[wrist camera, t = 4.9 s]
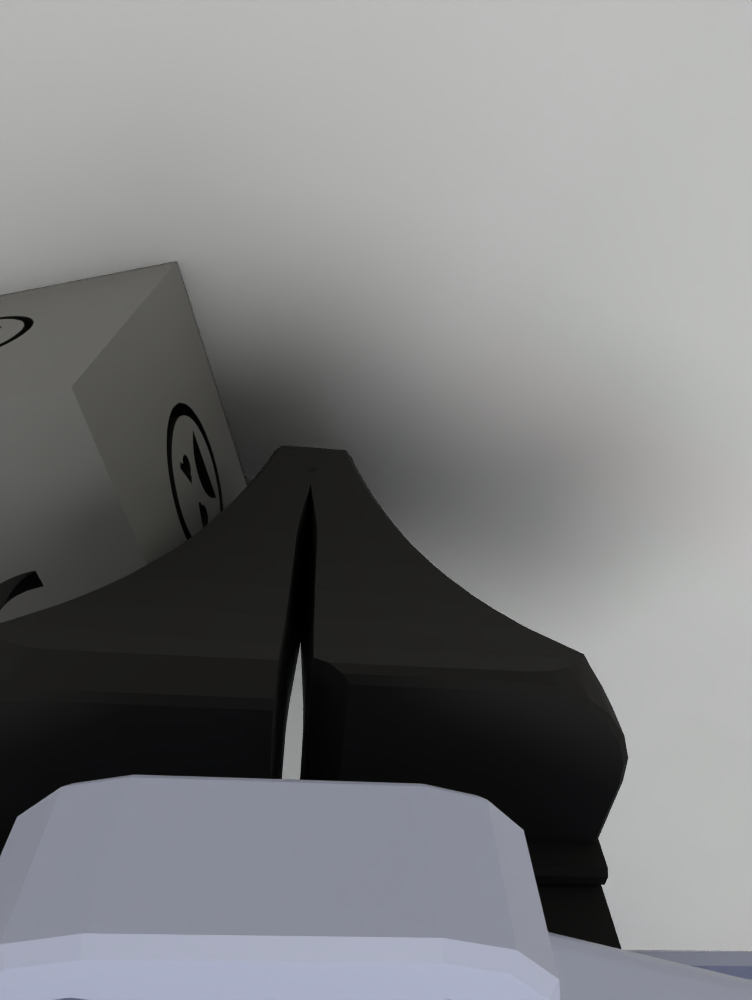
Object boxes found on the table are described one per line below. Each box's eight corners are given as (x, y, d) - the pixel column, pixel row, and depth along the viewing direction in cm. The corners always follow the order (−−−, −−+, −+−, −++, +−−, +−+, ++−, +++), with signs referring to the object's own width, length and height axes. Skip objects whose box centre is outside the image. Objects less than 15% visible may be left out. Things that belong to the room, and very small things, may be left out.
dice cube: (176, 261, 11) (71, 387, 7) (260, 529, 14) (223, 743, 9) (-134, 321, 11) (-427, 479, 7) (7, 572, 14) (-143, 799, 10)
